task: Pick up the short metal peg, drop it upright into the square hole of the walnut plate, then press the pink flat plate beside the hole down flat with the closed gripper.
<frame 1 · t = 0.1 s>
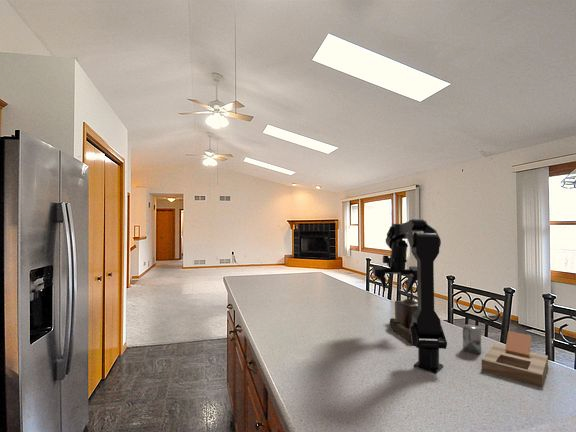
hand: (395, 291, 132), 15 cm above the countertop, tool pointing down, fingers open, 9 cm apart
hole plate: (515, 367, 97), on the countertop
pink flat plate: (518, 343, 101), point 6 cm above the countertop, hinge at 40.0°
peg: (471, 350, 110), on the countertop
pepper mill: (409, 323, 141), on the countertop
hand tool: (400, 336, 125), on the countertop
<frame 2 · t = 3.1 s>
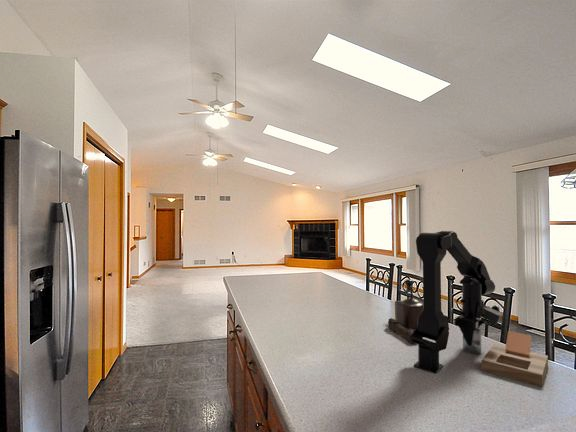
hand: (471, 343, 110), 3 cm above the countertop, tool pointing down, fingers closed on peg, 5 cm apart
peg: (471, 350, 110), on the countertop, touching gripper
everything else where it was.
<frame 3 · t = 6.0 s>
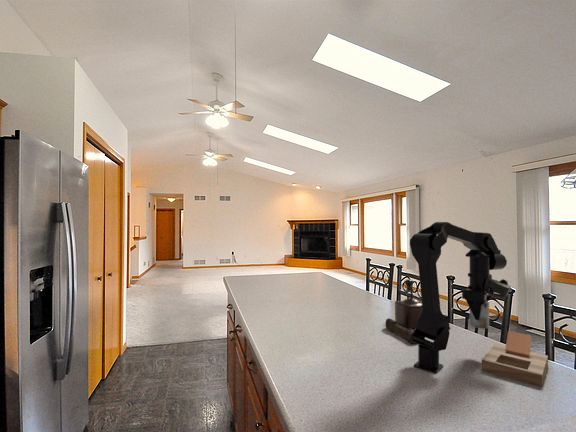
hand: (479, 318, 107), 12 cm above the countertop, tool pointing down, fingers closed on peg, 5 cm apart
peg: (479, 325, 107), point 9 cm above the countertop, touching gripper
when the fingers open (4 cm above the countertop, at t = 9.1 s): peg drops 2 cm, resting in hole plate.
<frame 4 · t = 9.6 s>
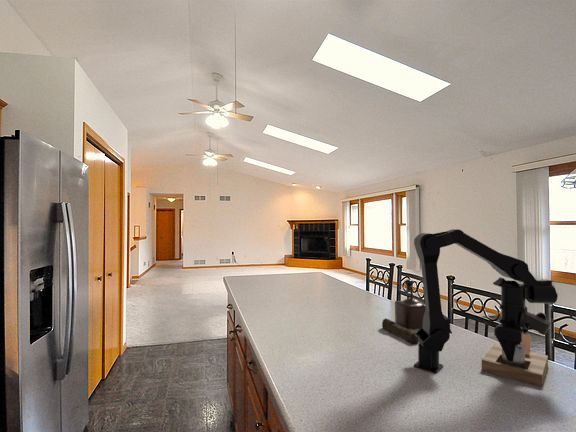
hand: (513, 356, 94), 4 cm above the countertop, tool pointing down, fingers open, 9 cm apart
peg: (513, 372, 94), resting in hole plate
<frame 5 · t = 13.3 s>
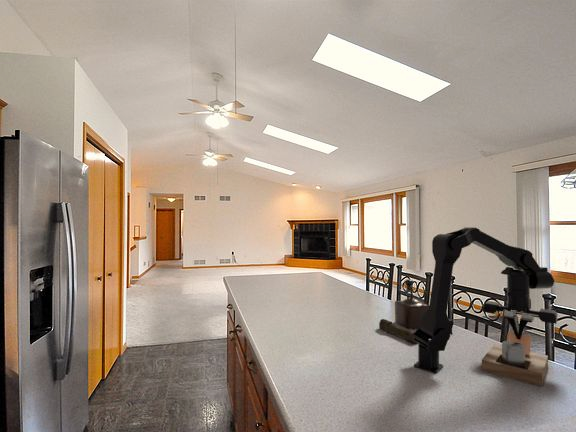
hand: (518, 339, 102), 7 cm above the countertop, tool pointing down, fingers closed, pressing on pink flat plate
pink flat plate: (518, 343, 101), point 6 cm above the countertop, hinge at 40.0°, touching gripper
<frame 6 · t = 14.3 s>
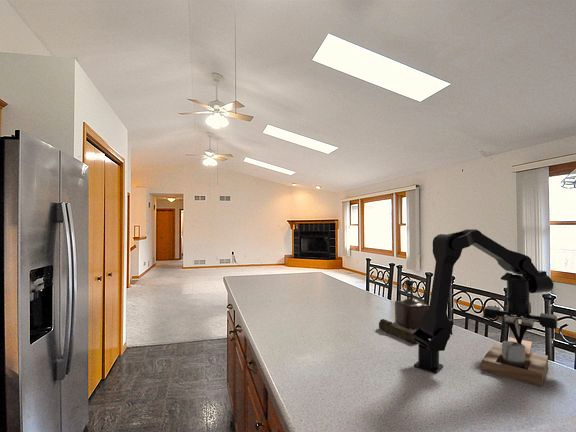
hand: (519, 343, 103), 5 cm above the countertop, tool pointing down, fingers closed, pressing on pink flat plate
pink flat plate: (518, 346, 102), point 5 cm above the countertop, hinge at 15.6°, touching gripper
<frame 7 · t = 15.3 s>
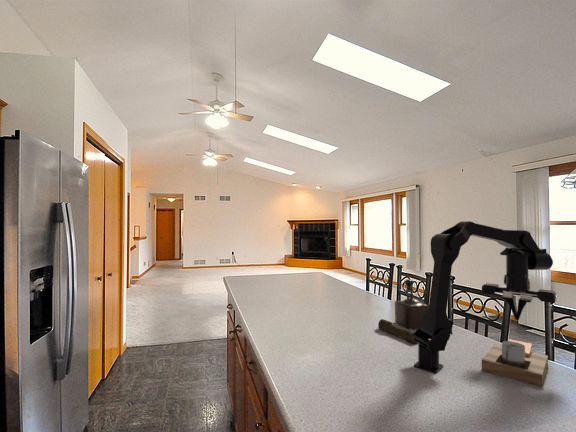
hand: (517, 319, 102), 13 cm above the countertop, tool pointing down, fingers closed
pink flat plate: (518, 347, 102), point 4 cm above the countertop, hinge at 10.0°
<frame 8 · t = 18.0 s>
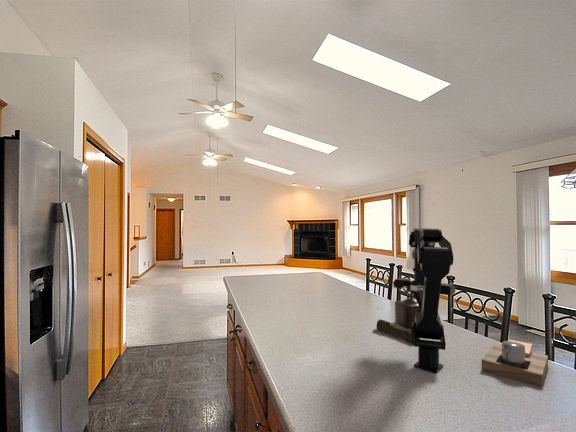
hand: (423, 311, 110), 13 cm above the countertop, tool pointing down, fingers closed
pink flat plate: (518, 347, 102), point 4 cm above the countertop, hinge at 9.2°
at the end: peg 0.0 cm from the target spot on the hole plate, point 0.0 cm above the hole plate's base; peg tilted 0°; pink flat plate at +9° (first picture: +40°) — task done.
